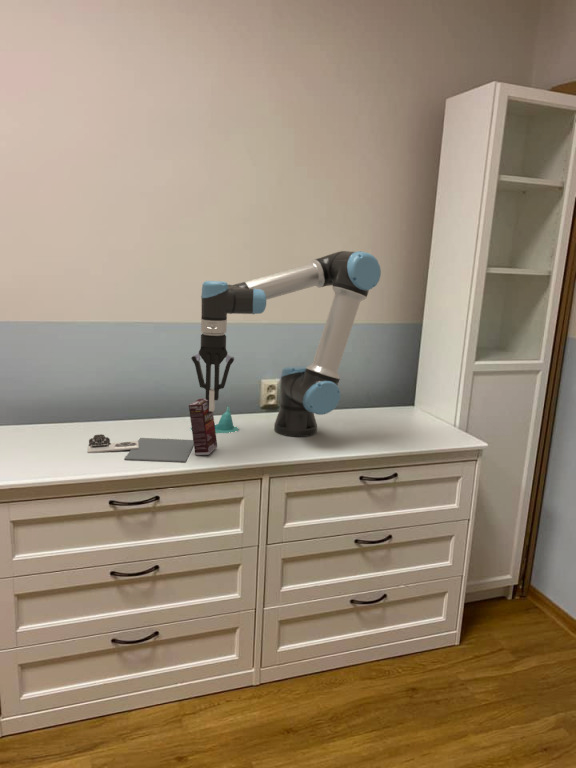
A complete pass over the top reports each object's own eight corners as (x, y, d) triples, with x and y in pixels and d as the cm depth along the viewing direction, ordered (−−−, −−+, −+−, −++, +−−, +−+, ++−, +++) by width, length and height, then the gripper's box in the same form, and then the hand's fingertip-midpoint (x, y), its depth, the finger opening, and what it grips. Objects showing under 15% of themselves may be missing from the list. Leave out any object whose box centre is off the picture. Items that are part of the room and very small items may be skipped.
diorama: (185, 425, 217) (185, 401, 215) (240, 424, 220) (241, 401, 218) (185, 435, 205) (185, 411, 203) (244, 434, 209) (245, 410, 207)
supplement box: (209, 455, 183) (202, 404, 180) (194, 455, 184) (187, 405, 181) (218, 446, 192) (211, 397, 189) (204, 447, 193) (197, 398, 190)
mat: (195, 441, 198) (195, 440, 198) (185, 462, 178) (185, 461, 178) (140, 439, 198) (140, 437, 197) (124, 460, 178) (124, 458, 178)
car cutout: (87, 453, 183) (86, 438, 182) (88, 446, 189) (87, 432, 188) (138, 449, 186) (138, 435, 185) (138, 442, 193) (137, 428, 192)
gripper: (189, 334, 176) (188, 412, 181) (234, 336, 176) (232, 414, 181) (193, 330, 183) (192, 406, 189) (236, 333, 184) (234, 408, 189)
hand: (211, 410), depth 185 cm, fingers closed
